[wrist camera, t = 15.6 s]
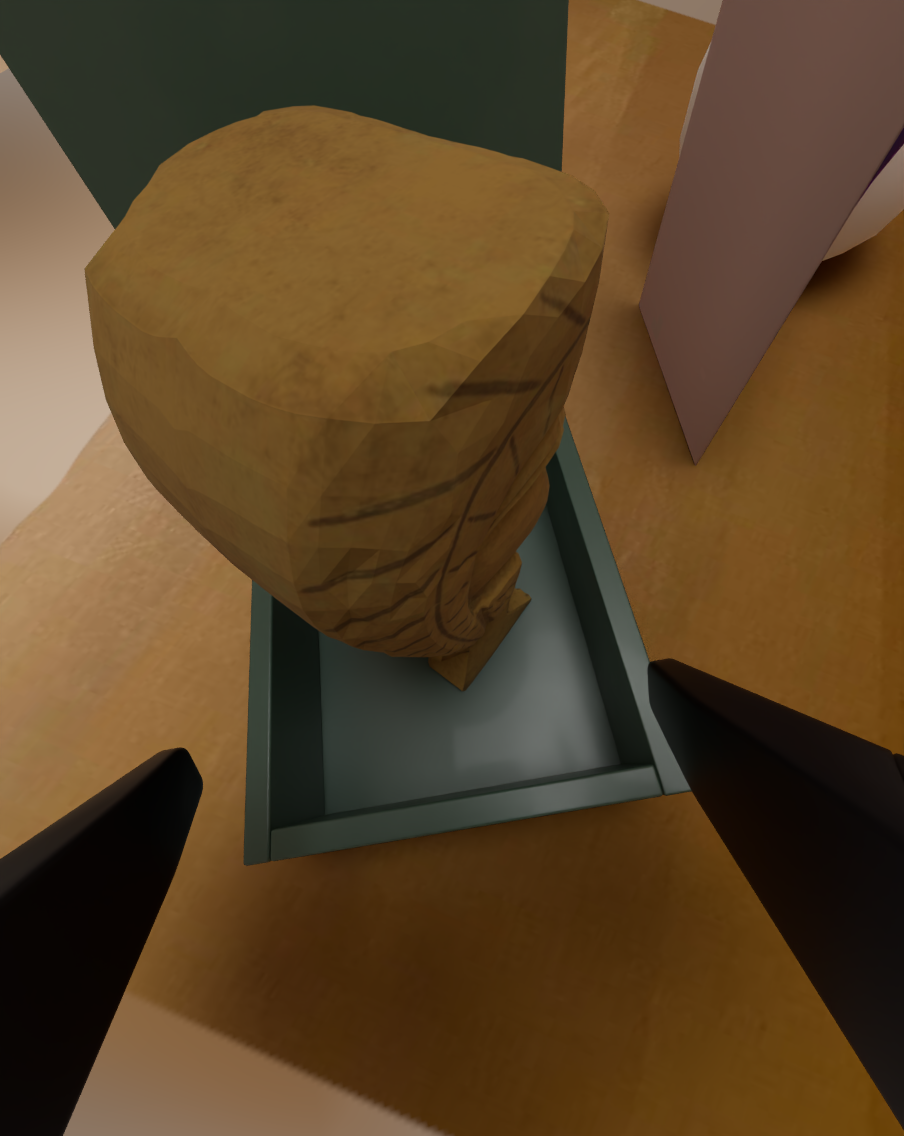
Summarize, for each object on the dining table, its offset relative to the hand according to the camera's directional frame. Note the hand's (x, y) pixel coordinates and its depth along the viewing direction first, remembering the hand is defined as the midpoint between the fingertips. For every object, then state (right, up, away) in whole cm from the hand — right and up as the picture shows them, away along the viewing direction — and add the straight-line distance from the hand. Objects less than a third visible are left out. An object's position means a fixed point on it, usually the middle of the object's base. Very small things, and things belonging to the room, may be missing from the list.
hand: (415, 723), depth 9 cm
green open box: (0, +1, +11) cm, 11 cm away
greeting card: (+13, +14, +16) cm, 24 cm away
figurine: (0, +1, +11) cm, 11 cm away
